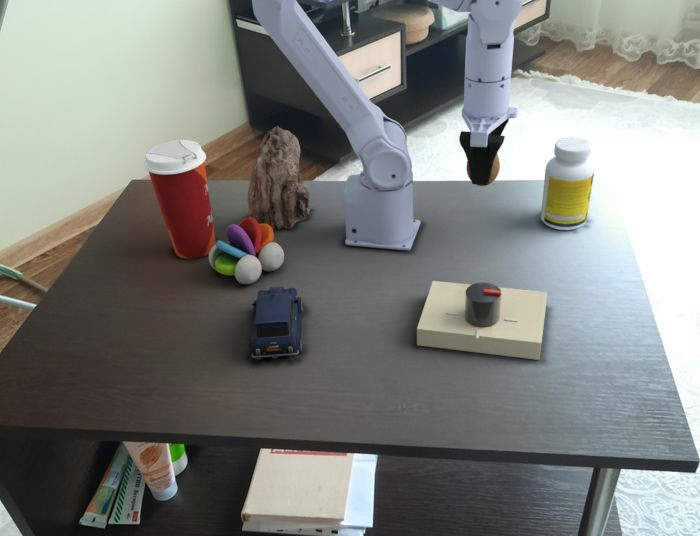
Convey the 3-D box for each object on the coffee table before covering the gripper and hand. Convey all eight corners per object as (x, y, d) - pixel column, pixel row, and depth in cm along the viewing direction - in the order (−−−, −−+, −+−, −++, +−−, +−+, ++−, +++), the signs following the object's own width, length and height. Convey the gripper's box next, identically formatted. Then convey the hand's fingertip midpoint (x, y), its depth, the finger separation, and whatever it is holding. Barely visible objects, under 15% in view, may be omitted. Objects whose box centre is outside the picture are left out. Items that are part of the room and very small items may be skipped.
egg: (505, 184, 100) (508, 143, 96) (481, 195, 98) (484, 153, 94) (482, 174, 103) (484, 133, 99) (458, 184, 101) (460, 143, 97)
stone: (300, 116, 105) (232, 124, 105) (296, 133, 99) (224, 141, 99) (315, 211, 113) (252, 217, 114) (312, 231, 107) (245, 238, 107)
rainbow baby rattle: (295, 264, 101) (289, 218, 96) (240, 296, 96) (231, 248, 91) (256, 244, 106) (248, 199, 101) (202, 273, 101) (191, 227, 96)
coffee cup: (235, 245, 106) (216, 147, 96) (190, 269, 102) (165, 169, 92) (199, 227, 111) (178, 132, 101) (155, 250, 106) (128, 153, 97)
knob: (462, 325, 84) (463, 298, 81) (467, 305, 87) (468, 278, 84) (497, 329, 83) (499, 302, 80) (501, 308, 86) (503, 281, 83)
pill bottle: (587, 233, 102) (599, 155, 95) (539, 231, 103) (548, 153, 96) (585, 210, 107) (597, 134, 100) (540, 208, 108) (548, 133, 101)
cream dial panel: (415, 348, 85) (415, 330, 83) (432, 296, 93) (432, 279, 91) (538, 363, 82) (541, 345, 80) (545, 308, 89) (547, 290, 88)
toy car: (302, 303, 94) (297, 266, 90) (301, 363, 84) (296, 325, 81) (256, 306, 94) (250, 270, 90) (250, 367, 84) (242, 329, 81)
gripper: (515, 97, 85) (507, 202, 93) (524, 56, 95) (516, 154, 104) (454, 95, 86) (452, 198, 95) (470, 55, 97) (467, 151, 106)
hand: (482, 175), depth 100 cm, fingers closed on egg, 4 cm apart
